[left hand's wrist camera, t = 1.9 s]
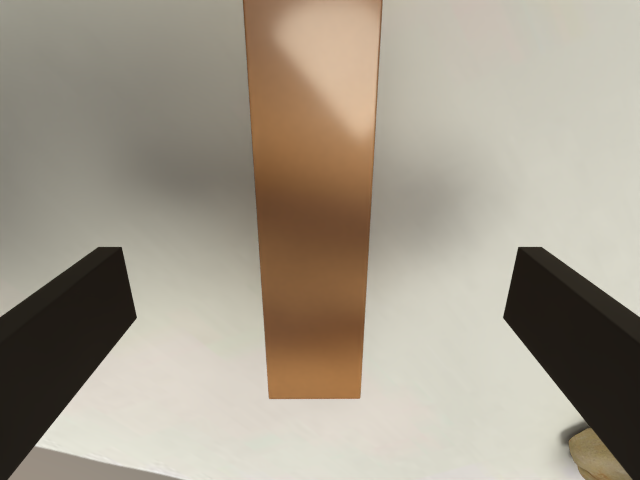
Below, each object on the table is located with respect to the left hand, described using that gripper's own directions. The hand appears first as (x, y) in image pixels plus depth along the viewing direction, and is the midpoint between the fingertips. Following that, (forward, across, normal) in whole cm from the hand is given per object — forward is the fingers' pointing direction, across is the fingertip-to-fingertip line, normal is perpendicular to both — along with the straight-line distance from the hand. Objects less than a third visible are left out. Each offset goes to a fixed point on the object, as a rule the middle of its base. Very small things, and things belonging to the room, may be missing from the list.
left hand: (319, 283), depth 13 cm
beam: (+11, 0, -20) cm, 23 cm away
